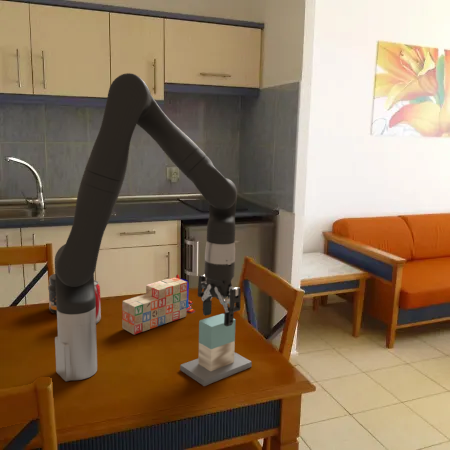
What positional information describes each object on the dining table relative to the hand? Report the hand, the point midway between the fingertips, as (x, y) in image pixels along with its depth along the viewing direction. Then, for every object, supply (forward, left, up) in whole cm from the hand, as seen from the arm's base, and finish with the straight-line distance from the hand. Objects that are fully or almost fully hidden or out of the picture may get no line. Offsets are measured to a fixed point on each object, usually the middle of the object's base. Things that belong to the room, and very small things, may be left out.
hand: (217, 319), depth 122 cm
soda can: (-13, +48, -14) cm, 52 cm away
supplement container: (-15, +62, -14) cm, 65 cm away
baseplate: (0, 0, -14) cm, 14 cm away
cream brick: (0, 0, -12) cm, 12 cm away
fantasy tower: (+17, +42, -14) cm, 47 cm away
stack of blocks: (+4, +35, -14) cm, 37 cm away
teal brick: (0, 0, -6) cm, 6 cm away
